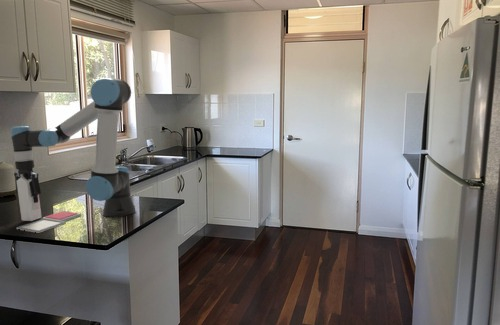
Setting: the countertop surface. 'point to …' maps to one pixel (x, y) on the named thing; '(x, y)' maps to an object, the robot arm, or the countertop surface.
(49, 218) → the ink pad
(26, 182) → the milk
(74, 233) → the countertop surface
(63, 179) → the countertop surface
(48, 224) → the marked square
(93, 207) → the countertop surface
